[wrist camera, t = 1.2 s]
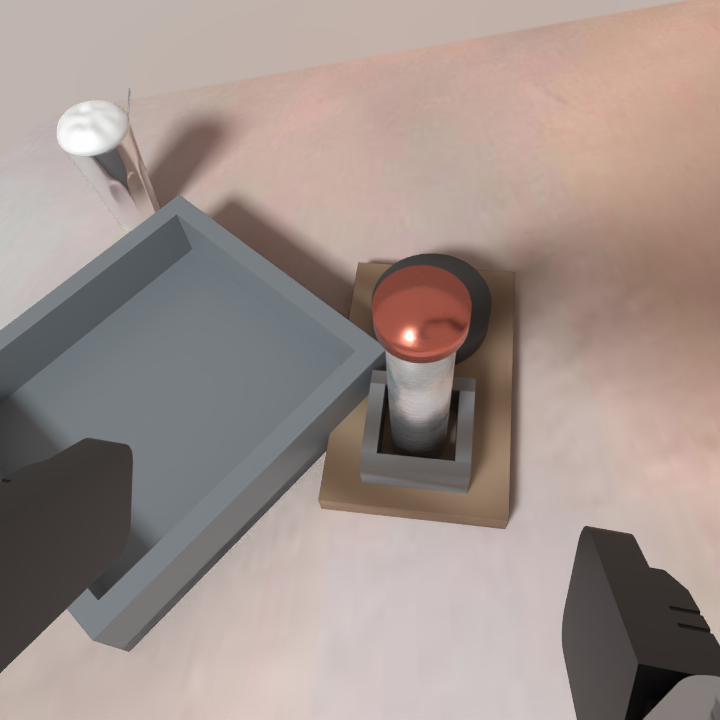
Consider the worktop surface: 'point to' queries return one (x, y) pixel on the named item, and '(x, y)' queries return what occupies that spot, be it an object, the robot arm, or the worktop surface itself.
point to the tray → (179, 397)
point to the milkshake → (109, 159)
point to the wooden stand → (465, 424)
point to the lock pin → (420, 353)
